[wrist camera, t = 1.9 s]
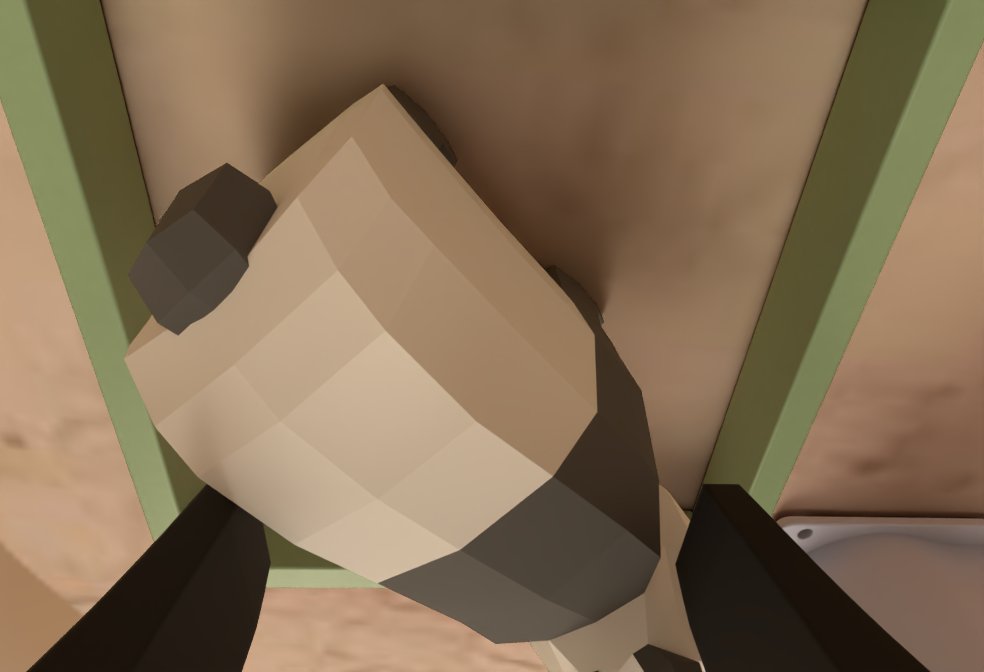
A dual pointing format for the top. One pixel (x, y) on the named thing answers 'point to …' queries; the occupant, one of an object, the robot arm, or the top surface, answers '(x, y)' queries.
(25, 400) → the top surface
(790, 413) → the rim
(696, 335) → the top surface
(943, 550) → the robot arm
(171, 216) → the giant panda
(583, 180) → the top surface
